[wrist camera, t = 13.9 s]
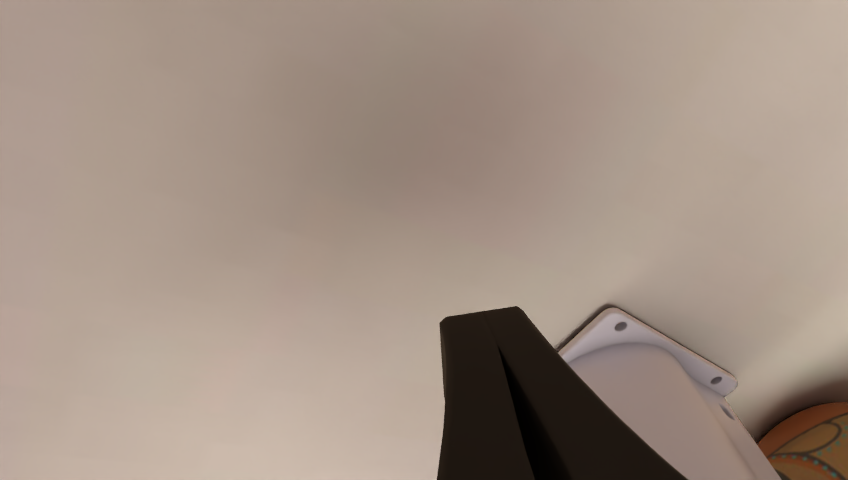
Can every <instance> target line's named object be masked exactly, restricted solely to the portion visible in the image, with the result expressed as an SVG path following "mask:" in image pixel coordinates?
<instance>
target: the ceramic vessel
mask: <svg viewBox="0 0 848 480" xmlns="http://www.w3.org/2000/svg"><path fill="white" fill-rule="evenodd" d="M757 445H758V447H759V448H760V450H761V451H762V452H763V454H764V455H765V457H766V458H767V460H768V461H769V462H770V464H771V465H772V467H773V468H774V470H775V471H776V472H777V474H778V475H779V477H780V478H781V480H848V402H833V403H825V404H820V405H816V406H813V407H810V408H807V409H805V410H802V411H800V412H798V413H796V414H794V415H792V416H790V417H788V418H786V419H785V420H783V421H782V422H780V423H779V424H777V425H776V426H775V427H773V428H772V429H771V430H770V431H769V432H768V433H767V434H766V435H765V436H764V437H763V438H762V439H761V440H760V441H759V443H758V444H757Z"/></svg>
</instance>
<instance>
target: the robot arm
mask: <svg viewBox="0 0 848 480" xmlns="http://www.w3.org/2000/svg"><path fill="white" fill-rule="evenodd" d="M620 322H621V323H620ZM618 323H619V324H618ZM440 337H441V353H442V369H443V385H444V397H445V415H444V428H443V437H442V445H441V453H440V460H439V468H438V476H437V480H781V478H780V477H779V475H778V474H777V472H776V471H775V470H774V468H773V467H772V465H771V464H770V462H769V461H768V460H767V458H766V457H765V455H764V454H763V452H762V451H761V450H760V448H759V447H758V445H757V444H756V443H755V441H754V440H753V438H752V437H751V435H750V434H749V433H748V431H747V430H746V428H745V427H744V425H743V424H742V423H741V421H740V420H739V418H738V417H737V415H736V414H735V413H734V411H733V410H732V408H731V407H730V405H729V404H728V403H727V401H726V400H725V398H724V397H725V396H727V395H728V394H729V393H731V392H732V391H733V390H734V389H735V388H736V387H737V385H738V382H737V380H736V379H735V378H734V376H733V375H731V374H730V373H728V372H726V371H724V370H723V369H721V368H719V367H718V366H716V365H714V364H712V363H711V362H709V361H707V360H706V359H704V358H702V357H700V356H699V355H697V354H695V353H694V352H692V351H690V350H688V349H687V348H685V347H683V346H682V345H680V344H678V343H676V342H675V341H673V340H671V339H670V338H668V337H666V336H664V335H663V334H661V333H659V332H658V331H656V330H654V329H652V328H651V327H649V326H647V325H646V324H644V323H642V322H640V321H639V320H637V319H635V318H634V317H632V316H630V315H628V314H627V313H625V312H623V311H622V310H620V309H618V308H608V309H605V310H604V311H603V312H601V313H600V314H599V315H598V316H597V317H596V318H595V319H594V320H593V321H592V322H591V323H589V324H588V325H587V326H586V327H585V328H584V329H583V330H582V331H581V332H580V333H578V334H577V335H576V336H575V337H574V338H573V339H572V340H571V341H570V342H569V343H568V344H566V345H565V346H564V347H563V348H562V349H561V350H560V351H559V352H558V353H557V351H556V350H555V349H554V348H553V347H552V346H551V344H550V343H549V342H548V341H547V340H546V339H545V337H544V336H543V335H542V334H541V333H540V331H539V330H538V329H537V328H536V327H535V325H534V324H533V323H532V322H531V320H530V319H529V318H528V317H527V315H526V314H525V313H524V311H523V310H521V309H520V308H519V307H517V306H515V307H508V308H502V309H495V310H488V311H482V312H475V313H469V314H462V315H456V316H449V317H446V318H444V319H443V320H442V321H441V322H440Z"/></svg>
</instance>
